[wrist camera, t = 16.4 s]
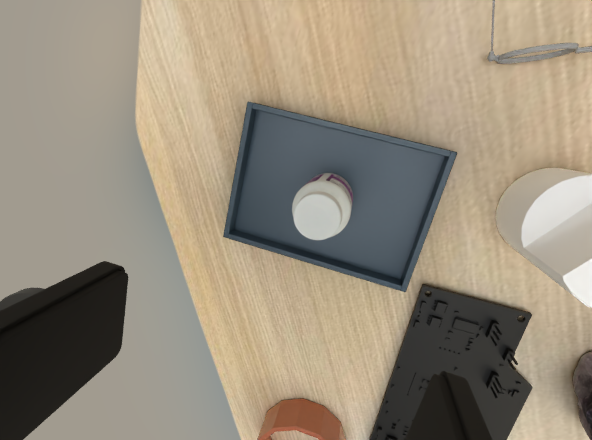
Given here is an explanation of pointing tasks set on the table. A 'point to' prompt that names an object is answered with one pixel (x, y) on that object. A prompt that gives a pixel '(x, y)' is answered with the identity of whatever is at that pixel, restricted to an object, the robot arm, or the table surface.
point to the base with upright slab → (552, 225)
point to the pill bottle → (322, 206)
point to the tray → (360, 176)
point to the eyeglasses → (534, 50)
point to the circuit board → (457, 361)
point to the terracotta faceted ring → (302, 420)
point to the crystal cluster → (584, 391)
